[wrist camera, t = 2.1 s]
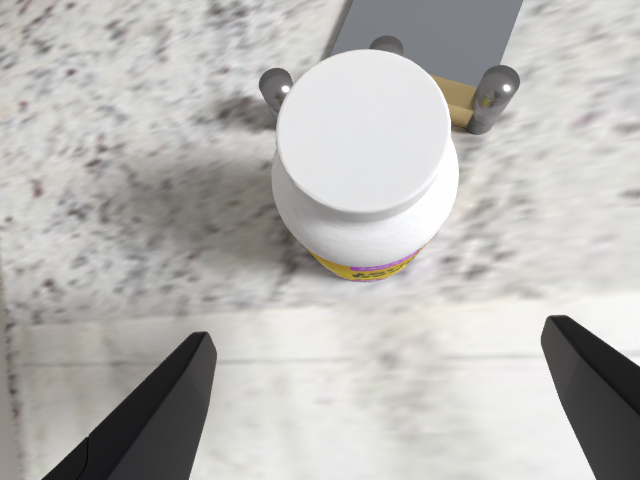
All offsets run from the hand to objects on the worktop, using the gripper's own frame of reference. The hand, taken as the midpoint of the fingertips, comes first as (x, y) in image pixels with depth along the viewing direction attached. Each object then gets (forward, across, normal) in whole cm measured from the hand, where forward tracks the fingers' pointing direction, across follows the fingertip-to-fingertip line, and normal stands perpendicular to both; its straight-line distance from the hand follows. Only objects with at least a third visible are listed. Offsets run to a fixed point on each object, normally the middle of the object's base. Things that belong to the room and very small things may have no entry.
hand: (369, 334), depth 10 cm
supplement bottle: (+12, 0, +5) cm, 13 cm away
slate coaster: (+22, -5, -5) cm, 23 cm away
